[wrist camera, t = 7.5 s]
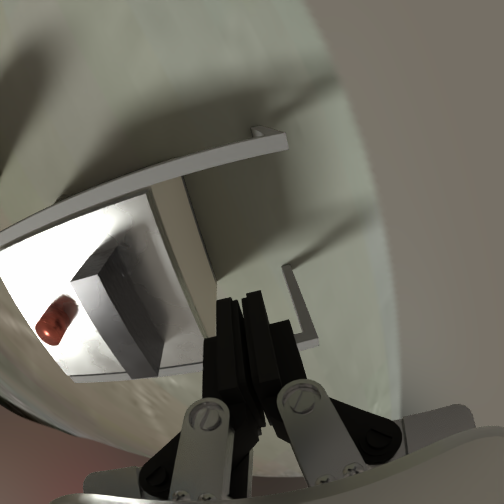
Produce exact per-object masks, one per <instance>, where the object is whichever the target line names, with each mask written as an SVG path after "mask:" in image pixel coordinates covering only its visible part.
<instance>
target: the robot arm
mask: <svg viewBox="0 0 504 504" xmlns="http://www.w3.org/2000/svg"><path fill="white" fill-rule="evenodd" d="M246 296H247V298H242V308H243V315H242V312H241V309H240V306H239V303H238V300H234V301H232V298H231V297H229V298H225V299H221V300H217V301H216V336H214V337H209V338H205V339H204V342H203V385H202V399H200V400H198V401H196V402H194V403H193V404H192V405H190V407H189V408H188V409H187V410H186V413H185V416H184V420H183V425H182V430H181V432H179V433H178V434H177V435H176V436H175V437H174V438H173V439H172V440H171V441H170V442H169V443H168V444H167V445H165V446H164V447H163V448H162V449H161V450H160V451H159V452H158V453H157V454H155V455H154V456H153V457H152V458H151V459H150V460H149V461H148V462H147V463H145V464H144V466H143V467H136V466H132V467H127V468H121V469H114V470H108V471H100V472H94V473H91V474H89V475H88V476H87V477H86V479H85V480H84V484H83V491H84V493H82V494H70V495H65V496H62V497H59V498H57V499H55V500H53V501H51V502H50V503H49V504H504V427H500V426H484V427H478V428H476V426H475V422H474V418H473V415H472V413H471V411H470V409H469V408H467V407H466V406H465V405H461V404H453V405H450V406H446V407H442V408H439V409H435V410H431V411H427V412H422V413H418V414H414V415H409V416H404V417H403V419H399V420H394V421H391V420H389V419H387V418H384V417H381V416H378V415H375V414H372V413H369V412H366V411H364V410H361V409H358V408H356V407H353V406H350V405H348V404H345V403H342V402H340V401H337V400H335V399H332V398H330V397H328V395H327V393H326V391H325V389H324V388H323V387H322V386H321V384H319V383H317V382H316V381H313V380H309V379H307V377H306V374H305V370H304V367H303V364H302V360H301V357H300V354H299V350H298V347H297V344H296V340H295V337H294V334H293V330H292V327H291V324H290V321H289V320H285V321H281V322H277V323H273V324H269V321H268V317H267V313H266V309H265V305H264V301H263V297H262V293H261V290H259V291H255V292H251V293H246ZM243 316H244V318H243ZM264 412H265V415H266V417H267V419H268V422H269V424H270V426H271V425H273V428H274V430H275V432H276V435H277V437H278V438H280V439H282V440H284V441H286V442H288V443H290V445H291V447H292V450H293V452H294V454H295V457H296V459H297V462H298V464H299V467H300V469H301V471H302V474H303V476H304V478H305V481H306V483H307V485H308V488H305V489H301V490H296V491H290V492H285V493H279V494H273V495H267V496H260V497H253V498H251V489H252V470H253V447H254V446H255V445H256V443H257V442H258V441H259V437H258V436H259V435H262V433H261V427H266V423H265V416H264Z"/></svg>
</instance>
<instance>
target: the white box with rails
mask: <svg viewBox="0 0 504 504" xmlns="http://www.w3.org/2000/svg"><path fill="white" fill-rule="evenodd" d="M251 131H252V135H253V138H250V139H245V140H241V141H237V142H233V143H229V144H225V145H221V146H217V147H213V148H209V149H206V150H202V151H198V152H195V153H191V154H188V155H185V156H181V157H176V158H173V159H170V160H166V161H163V162H160V163H157V164H154V165H151V166H148V167H145V168H142V169H139V170H136V171H134V172H131V173H128V174H125V175H122V176H120V177H117V178H114V179H112V180H109V181H107V182H104V183H101V184H99V185H96V186H94V187H91V188H89V189H87V190H84V191H82V192H79V193H77V194H75V195H72V196H70V197H68V198H66V199H63V200H61V201H59V202H57V203H55V204H53V205H51V206H49V207H47V208H45V209H43V210H41V211H39V212H37V213H35V214H33V215H30V216H28V217H27V218H25V219H23V220H21V221H19V222H17V223H15V224H13V225H11V226H9V227H7V228H6V229H4V230H2V231H0V249H1V248H3V247H5V246H7V245H9V244H11V243H13V242H15V241H17V240H19V239H21V238H24V237H26V236H28V235H30V234H32V233H35V232H37V231H39V230H41V229H44V228H46V227H48V226H51V225H53V224H55V223H58V222H60V221H63V220H65V219H67V218H70V217H72V216H75V215H77V214H80V213H83V212H85V211H88V210H90V209H93V208H96V207H98V206H101V205H104V204H106V203H109V202H112V201H115V200H118V199H121V198H123V197H126V196H129V195H132V194H135V193H138V192H141V191H144V190H147V189H150V188H151V192H152V194H153V197H154V200H155V203H156V206H157V209H158V212H159V215H160V218H161V220H162V223H163V226H164V229H165V232H166V234H167V237H168V240H169V242H170V245H171V248H172V250H173V253H174V256H175V258H176V261H177V263H178V266H179V268H180V271H181V274H182V276H183V279H184V281H185V283H186V286H187V288H188V291H189V293H190V296H191V298H192V300H193V303H194V305H195V308H196V310H197V312H198V315H199V317H200V319H201V321H202V324H203V326H204V328H205V331H206V333H207V335H208V337H214V336H216V297H217V280H216V277H215V274H214V271H213V268H212V266H211V263H210V260H209V257H208V254H207V251H206V248H205V245H204V241H203V238H202V235H201V232H200V229H199V226H198V223H197V220H196V217H195V213H194V210H193V207H192V204H191V201H190V197H189V194H188V191H187V188H186V184H185V181H184V178H183V175H186V174H189V173H193V172H196V171H200V170H204V169H207V168H211V167H215V166H219V165H223V164H226V163H230V162H234V161H239V160H243V159H247V158H251V157H256V156H260V155H264V154H269V153H274V152H278V151H283V150H288V149H289V147H288V142H287V137H286V133H285V132H281V131H278V130H275V129H271V128H268V127H264V126H256V127H252V128H251ZM281 267H282V272H283V275H284V278H285V281H286V284H287V287H288V290H289V293H290V296H291V299H292V302H293V305H294V308H295V311H296V314H297V317H298V320H299V323H300V326H301V330H302V333H298V334H294V337H295V340H296V344H297V347H298V350H299V351H302V350H306V349H309V348H313V347H317V346H319V340H318V336H317V333H316V330H315V328H314V325H313V323H312V320H311V317H310V315H309V312H308V310H307V307H306V304H305V302H304V299H303V297H302V294H301V292H300V289H299V286H298V284H297V281H296V279H295V276H294V274H293V271H292V269H291V266H290V264H289V265H285V266H281ZM199 371H203V361H201V362H195V363H189V364H182V365H175V366H168V367H161V368H160V369H159V374H158V377H163V376H171V375H179V374H186V373H193V372H199ZM70 378H71V379H72V380H73V381H74V382H75V383H85V382H107V381H122V380H134V379H131V378H130V376H129V375H128V374H127V372H126V371H125V372H114V373H101V374H84V375H70ZM149 378H154V377H149ZM139 379H144V378H139Z"/></svg>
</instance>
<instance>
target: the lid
mask: <svg viewBox="0 0 504 504" xmlns="http://www.w3.org/2000/svg"><path fill="white" fill-rule="evenodd" d="M0 276H1V278H2V280H3V282H4V284H5V285H6V287H7V289H8V291H9V293H10V294H11V296H12V298H13V299H14V301H15V303H16V304H17V306H18V308H19V309H20V311H21V313H22V314H23V316H24V317H25V319H26V320H27V322H28V323H29V325H30V326H31V328H32V329H33V331H34V332H35V334H36V335H37V337H38V338H39V339H40V341H41V342H42V344H43V345H44V346H45V348H46V349H47V350H48V352H49V353H50V354H51V356H52V357H53V358H54V359H55V361H56V362H57V363H58V365H59V366H60V367H61V368H62V369H63V371H64V372H65V373H66V374H67V375H84V374H101V373H114V372H125V371H126V372H127V374H128V375H129V376H130V378H131V379H139V378H149V377H158V374H159V369H160V368H161V367H168V366H175V365H182V364H189V363H195V362H201V361H203V342H204V339H205V338H209V337H208V335H207V333H206V331H205V328H204V326H203V324H202V321H201V319H200V317H199V315H198V312H197V310H196V308H195V305H194V303H193V300H192V298H191V296H190V293H189V291H188V288H187V286H186V283H185V281H184V279H183V276H182V274H181V271H180V268H179V266H178V263H177V261H176V258H175V256H174V253H173V250H172V248H171V245H170V242H169V240H168V237H167V234H166V232H165V229H164V226H163V223H162V220H161V218H160V215H159V212H158V209H157V206H156V203H155V200H154V197H153V194H152V192H151V188H150V189H147V190H144V191H141V192H138V193H135V194H132V195H129V196H126V197H123V198H121V199H118V200H115V201H112V202H109V203H106V204H104V205H101V206H98V207H96V208H93V209H90V210H88V211H85V212H83V213H80V214H77V215H75V216H72V217H70V218H67V219H65V220H63V221H60V222H58V223H55V224H53V225H51V226H48V227H46V228H44V229H41V230H39V231H37V232H35V233H32V234H30V235H28V236H26V237H24V238H21V239H19V240H17V241H15V242H13V243H11V244H9V245H7V246H5V247H3V248H1V249H0Z"/></svg>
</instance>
